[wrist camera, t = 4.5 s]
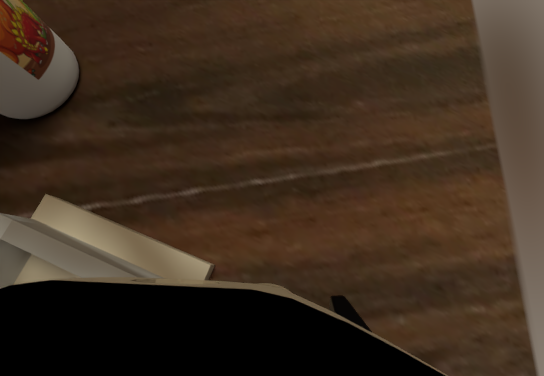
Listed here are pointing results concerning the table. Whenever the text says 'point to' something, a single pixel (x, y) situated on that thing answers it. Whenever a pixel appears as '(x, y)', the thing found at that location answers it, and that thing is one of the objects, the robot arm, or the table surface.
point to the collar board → (85, 248)
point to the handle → (184, 332)
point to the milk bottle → (32, 64)
